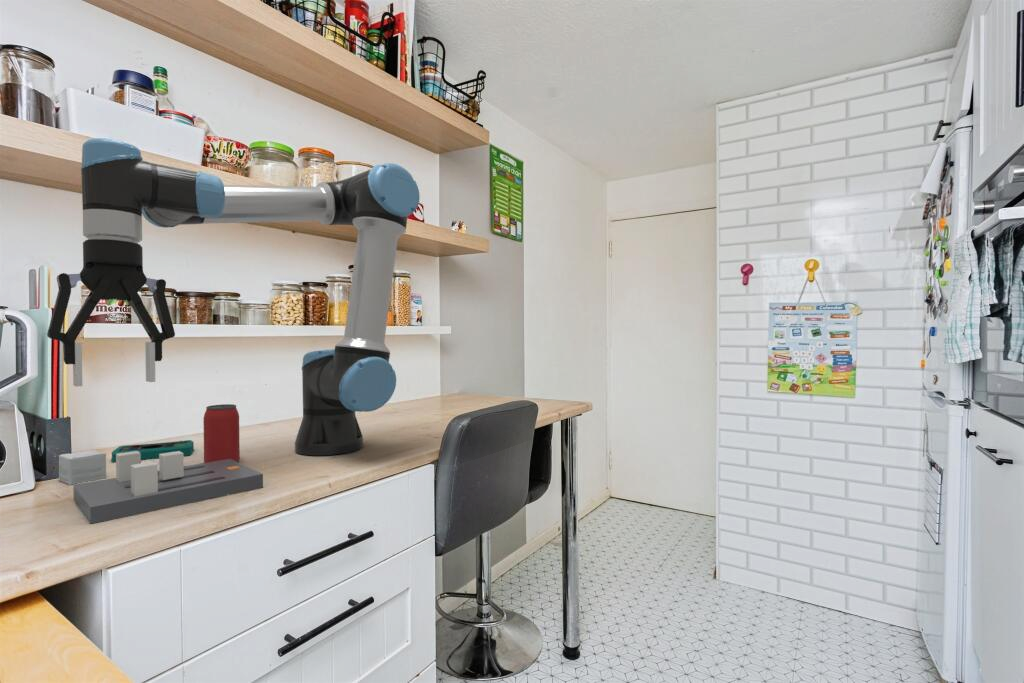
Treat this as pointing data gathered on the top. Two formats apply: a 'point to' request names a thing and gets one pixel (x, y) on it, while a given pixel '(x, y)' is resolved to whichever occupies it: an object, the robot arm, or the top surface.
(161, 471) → the handle
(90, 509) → the breaker panel
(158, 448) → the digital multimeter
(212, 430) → the beer can
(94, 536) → the top surface
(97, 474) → the small box
